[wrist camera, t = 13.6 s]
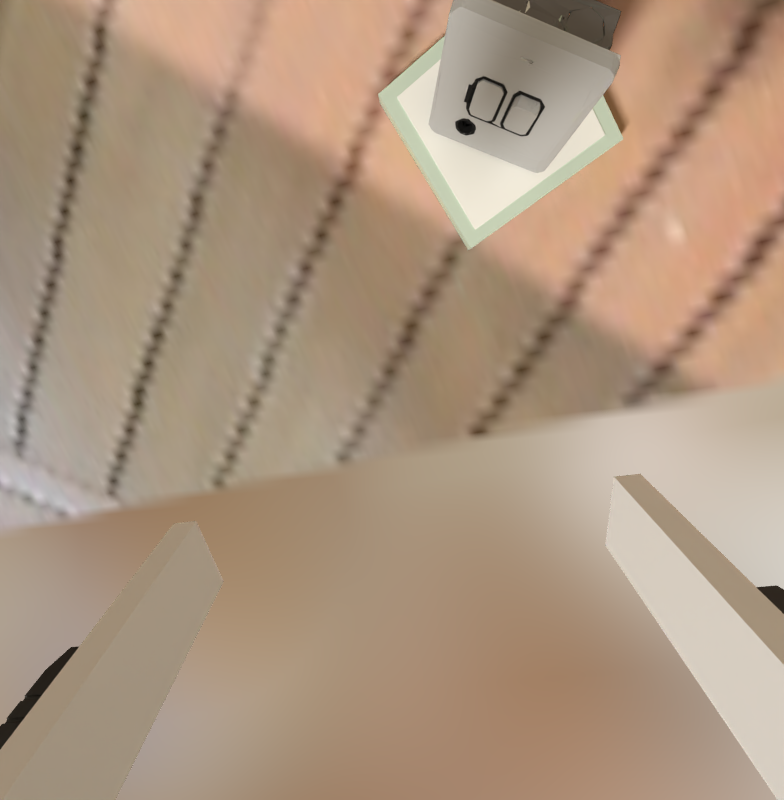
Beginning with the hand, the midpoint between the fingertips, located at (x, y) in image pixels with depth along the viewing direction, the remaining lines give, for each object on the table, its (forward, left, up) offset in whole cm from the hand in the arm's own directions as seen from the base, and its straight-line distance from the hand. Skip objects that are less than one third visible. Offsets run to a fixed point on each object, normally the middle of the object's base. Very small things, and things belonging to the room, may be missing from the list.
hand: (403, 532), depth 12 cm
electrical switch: (-13, +16, -23) cm, 31 cm away
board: (-12, +16, -24) cm, 32 cm away
